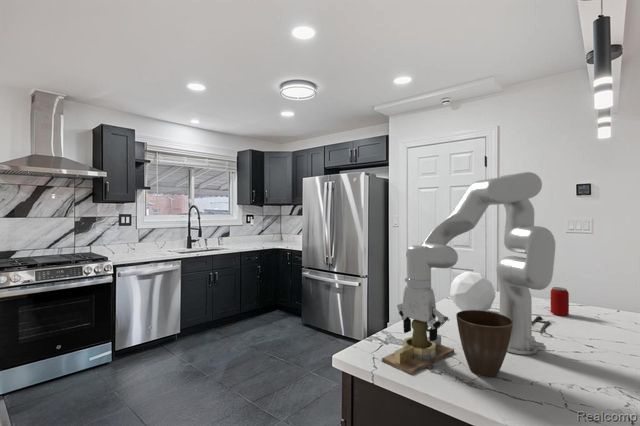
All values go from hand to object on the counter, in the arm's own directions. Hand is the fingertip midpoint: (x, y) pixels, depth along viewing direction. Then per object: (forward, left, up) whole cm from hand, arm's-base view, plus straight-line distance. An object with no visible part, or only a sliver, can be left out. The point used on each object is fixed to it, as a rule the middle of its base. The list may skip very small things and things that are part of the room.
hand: (419, 335), depth 107 cm
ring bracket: (0, 0, -7) cm, 7 cm away
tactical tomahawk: (+12, -33, -7) cm, 36 cm away
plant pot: (-18, -6, -7) cm, 20 cm away
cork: (0, 0, -6) cm, 6 cm away
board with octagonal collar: (0, 0, -7) cm, 7 cm away
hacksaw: (-16, -63, -7) cm, 65 cm away
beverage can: (-15, -88, -7) cm, 89 cm away
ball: (+12, -60, -7) cm, 61 cm away
